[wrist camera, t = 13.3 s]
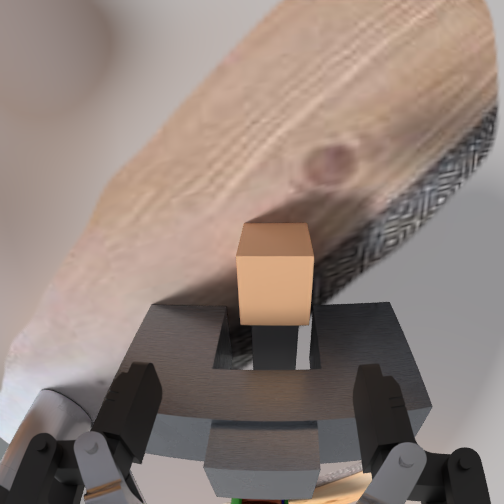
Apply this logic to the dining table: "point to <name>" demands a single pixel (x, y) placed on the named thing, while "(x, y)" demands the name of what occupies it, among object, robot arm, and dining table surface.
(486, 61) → the dining table surface
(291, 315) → the plug
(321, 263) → the dining table surface
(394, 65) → the dining table surface
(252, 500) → the motor
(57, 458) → the robot arm
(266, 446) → the housing
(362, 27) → the dining table surface
